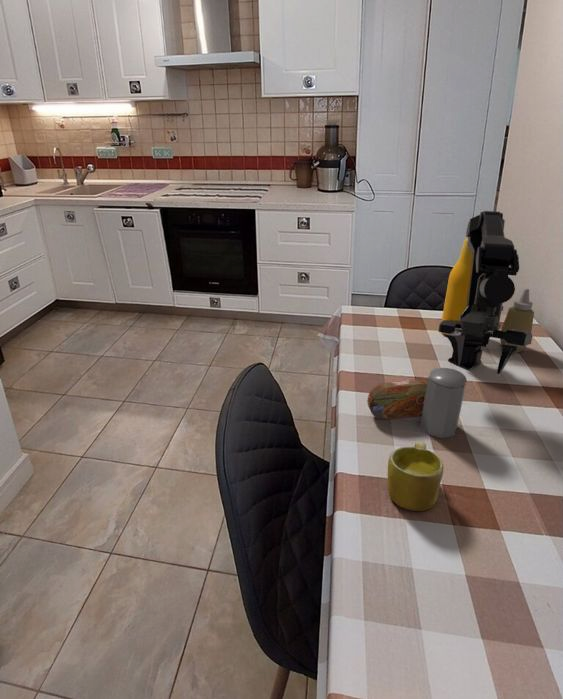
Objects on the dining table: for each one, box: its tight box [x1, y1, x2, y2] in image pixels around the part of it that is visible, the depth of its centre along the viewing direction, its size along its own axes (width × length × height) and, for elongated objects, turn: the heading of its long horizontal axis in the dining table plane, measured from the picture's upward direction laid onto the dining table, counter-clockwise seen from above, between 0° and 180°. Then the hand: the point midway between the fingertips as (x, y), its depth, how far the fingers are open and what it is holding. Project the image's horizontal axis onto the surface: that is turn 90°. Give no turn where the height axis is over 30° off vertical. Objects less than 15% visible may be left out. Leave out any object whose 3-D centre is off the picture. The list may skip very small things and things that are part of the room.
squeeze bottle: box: [499, 288, 535, 353], centre depth 133 cm, size 8×8×18 cm
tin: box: [366, 379, 427, 421], centre depth 106 cm, size 15×3×8 cm, turn 99°
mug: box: [387, 440, 444, 512], centre depth 85 cm, size 12×10×10 cm
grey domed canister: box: [419, 367, 468, 439], centre depth 101 cm, size 7×7×13 cm
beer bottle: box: [440, 237, 472, 336], centre depth 139 cm, size 9×9×29 cm
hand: (477, 369), depth 107 cm, fingers open, 9 cm apart
